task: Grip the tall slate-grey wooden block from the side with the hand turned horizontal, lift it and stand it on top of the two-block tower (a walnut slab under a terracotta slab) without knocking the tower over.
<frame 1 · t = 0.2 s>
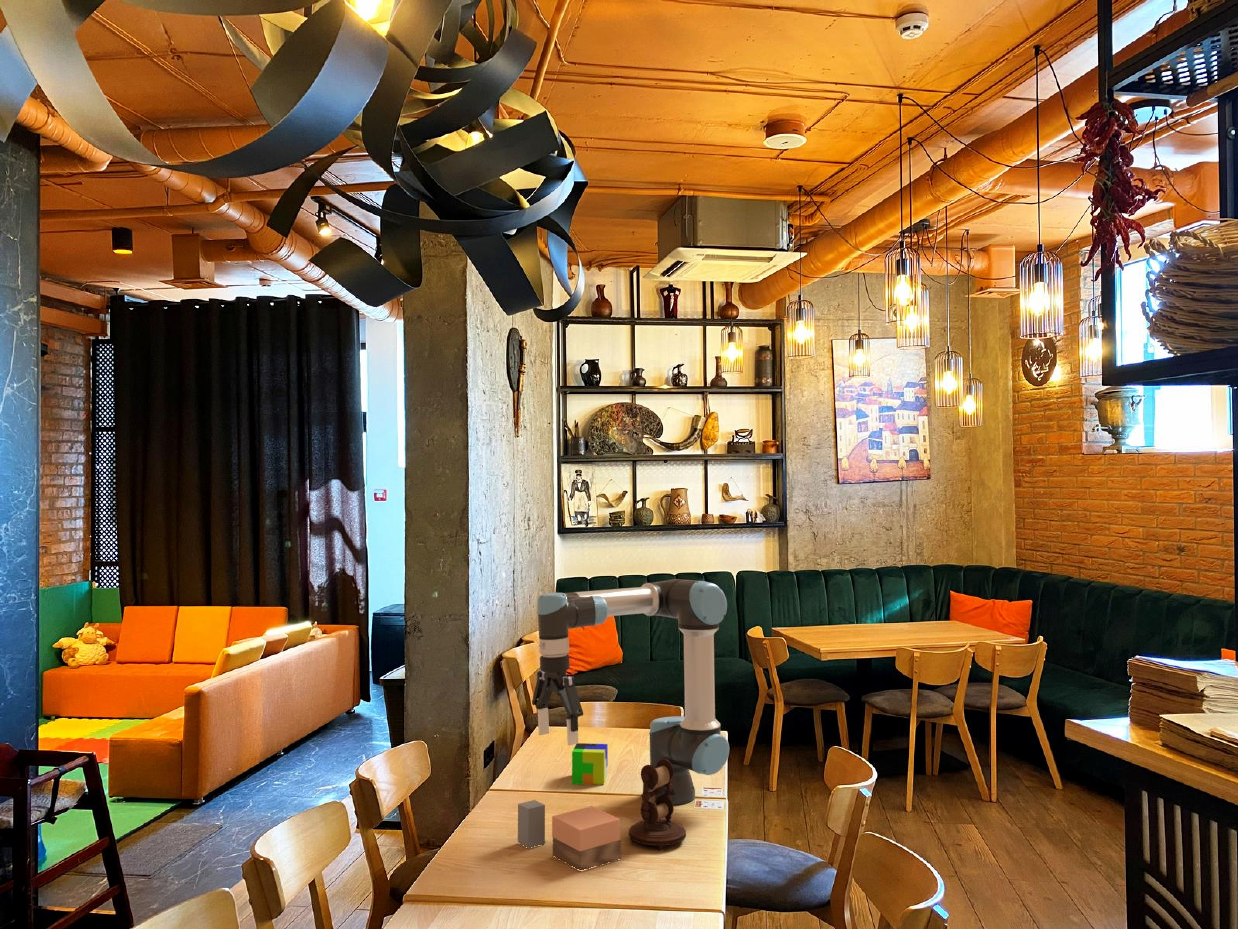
hand: (558, 739, 223), 27 cm above the table, tool pointing down, fingers open, 13 cm apart
grey block: (531, 844, 226), on the table
tower top: (586, 838, 217), point 5 cm above the table
puzzle toy: (590, 780, 279), on the table
tower bottom: (586, 859, 217), on the table
scroll: (657, 841, 228), on the table
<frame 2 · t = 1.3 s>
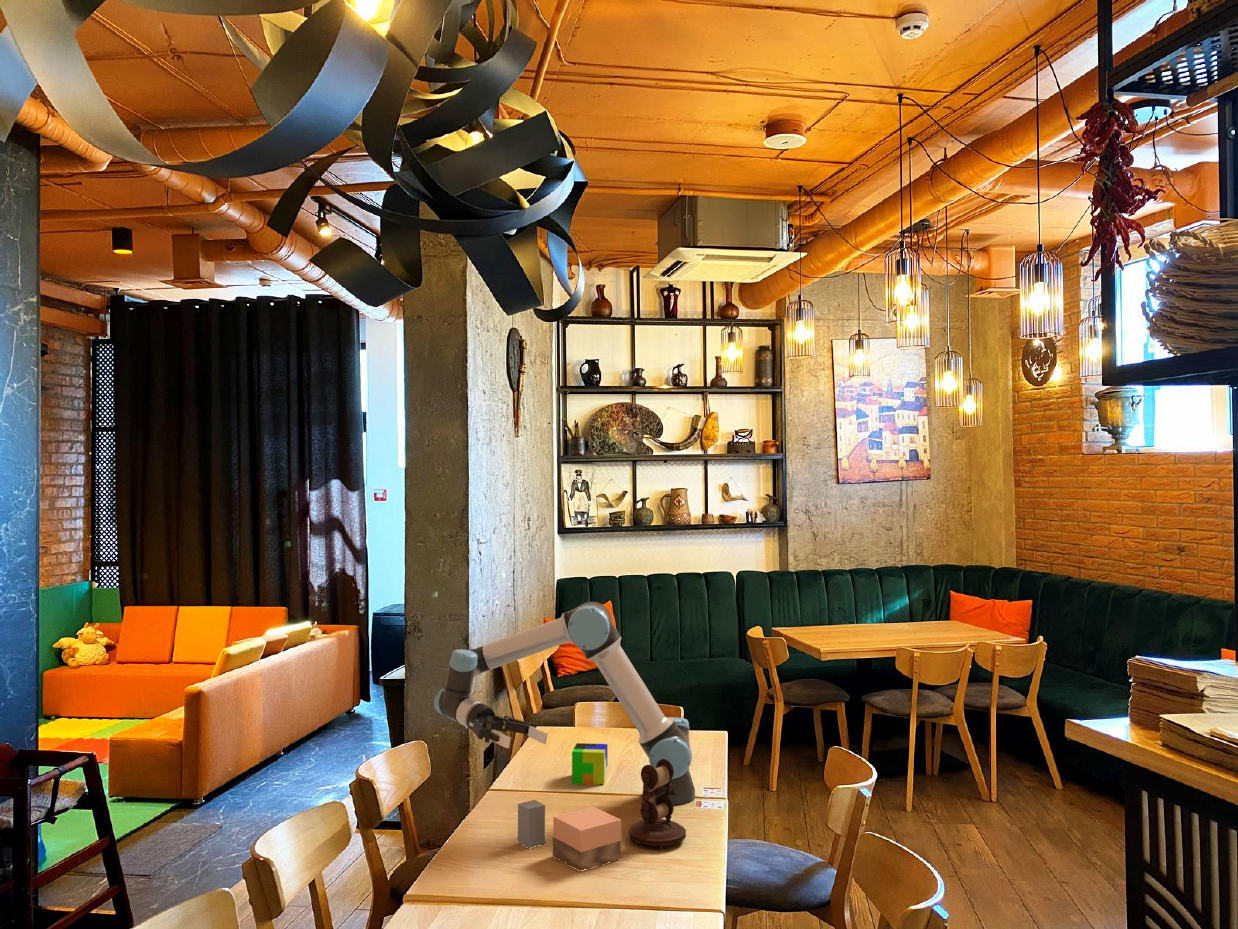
hand: (527, 741, 232), 25 cm above the table, tool horizontal, fingers open, 13 cm apart
nothing on the table moved.
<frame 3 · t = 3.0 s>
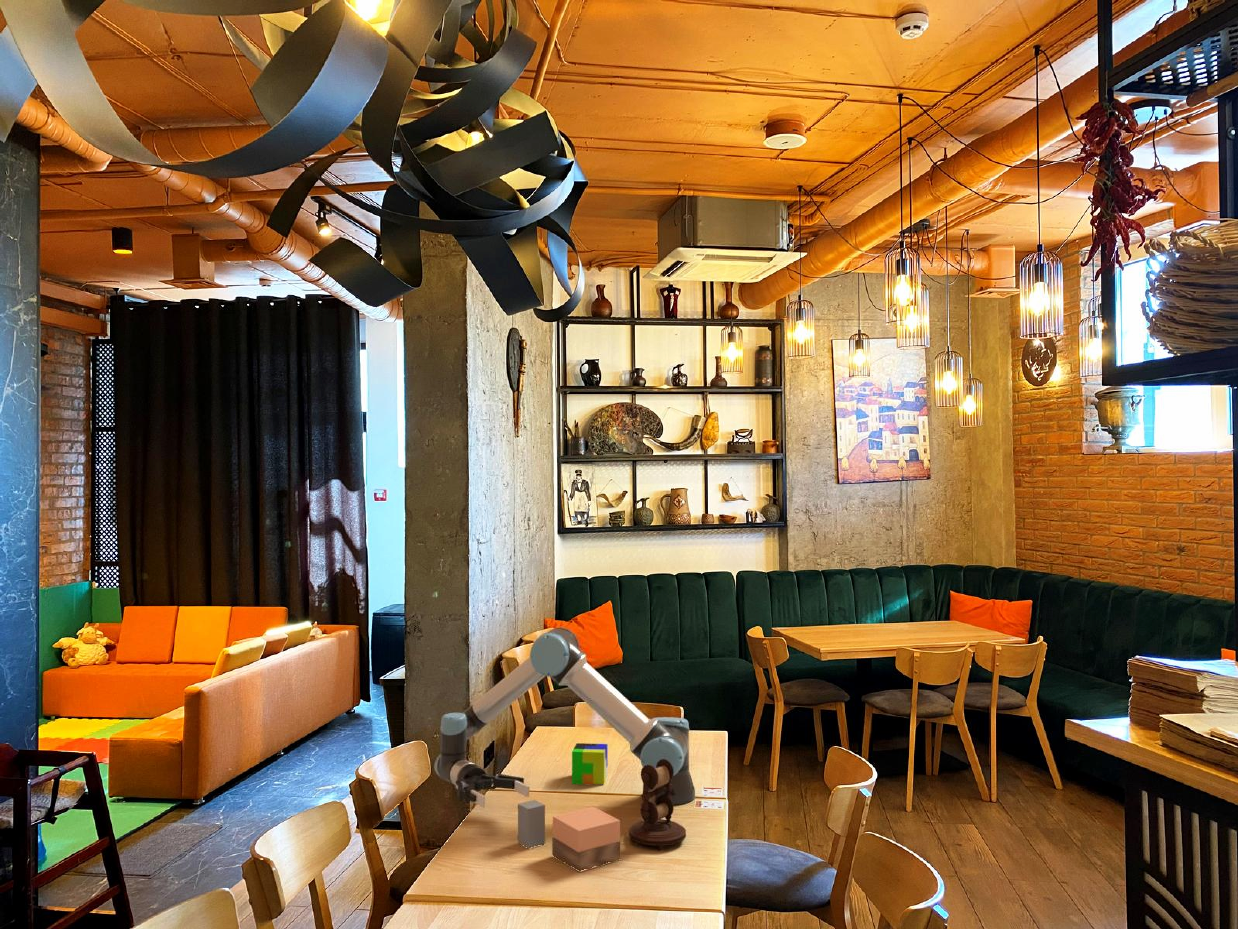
hand: (506, 796, 235), 9 cm above the table, tool horizontal, fingers open, 13 cm apart
tower top: (586, 839, 217), point 5 cm above the table, touching tower bottom
tower bottom: (586, 860, 216), on the table, touching tower top
everything else where it was.
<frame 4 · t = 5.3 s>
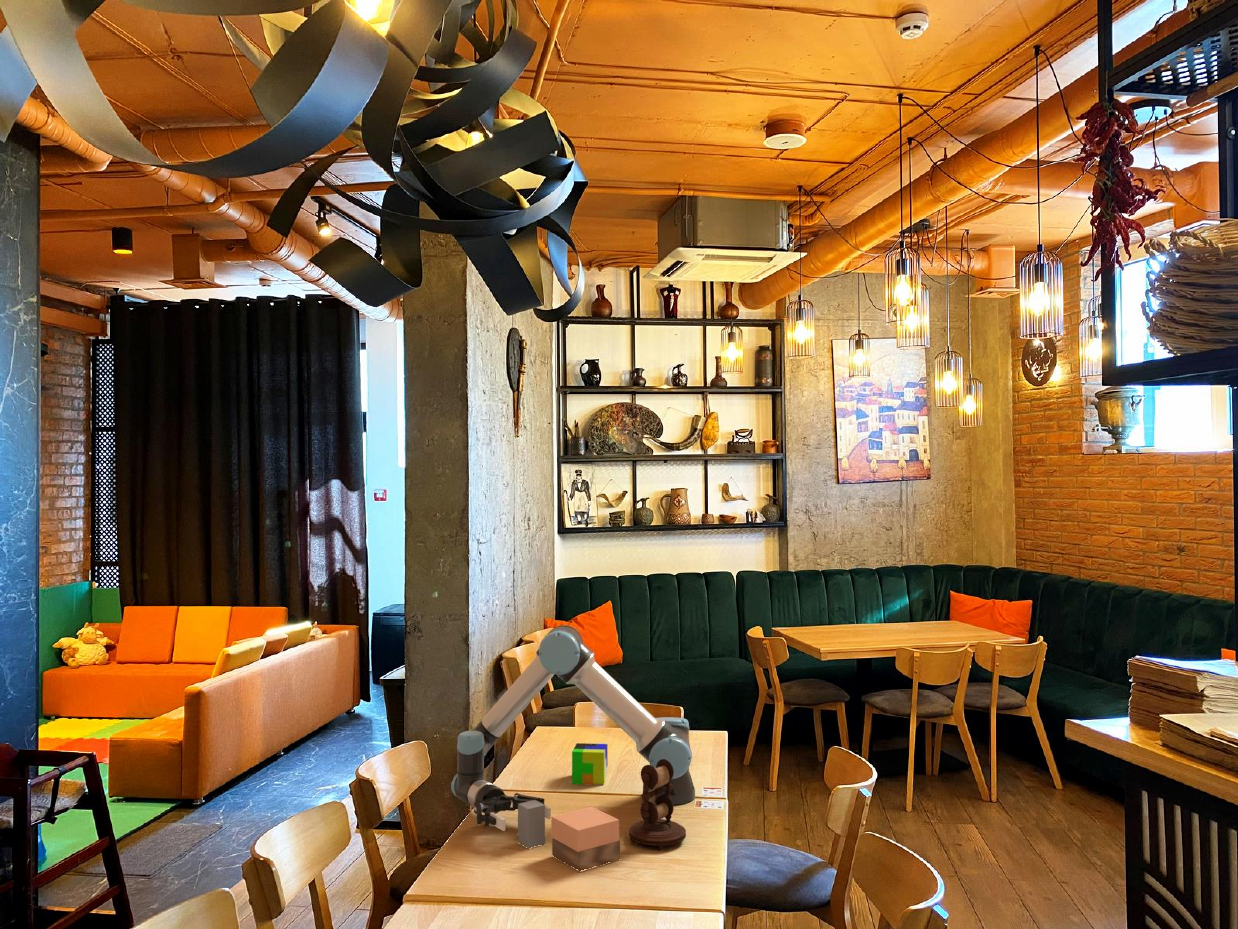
hand: (527, 819, 227), 6 cm above the table, tool horizontal, fingers open, 13 cm apart
nothing on the table moved.
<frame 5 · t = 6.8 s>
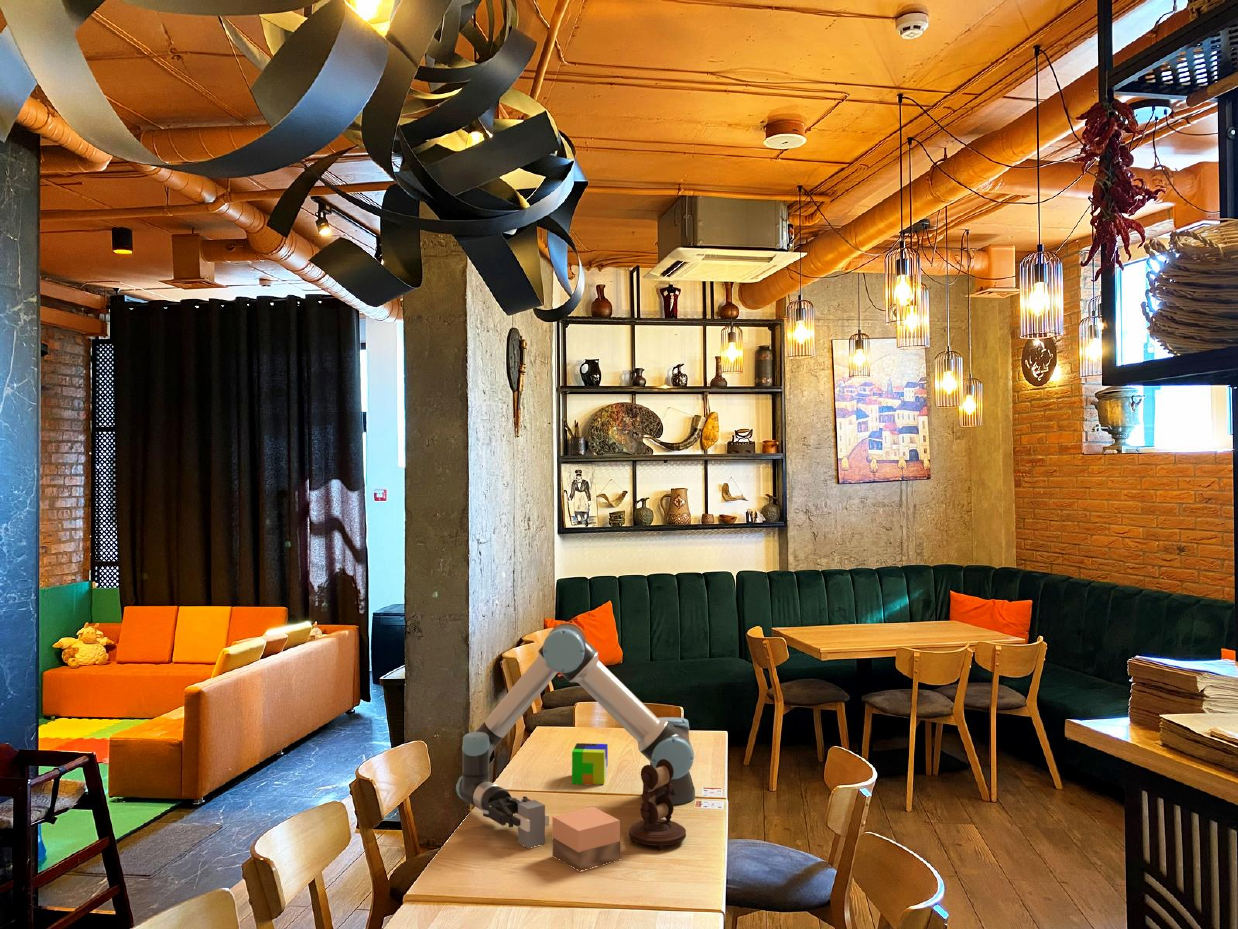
hand: (538, 823, 223), 6 cm above the table, tool horizontal, fingers closed on grey block, 5 cm apart
grey block: (531, 844, 226), on the table, touching gripper
everything else where it was.
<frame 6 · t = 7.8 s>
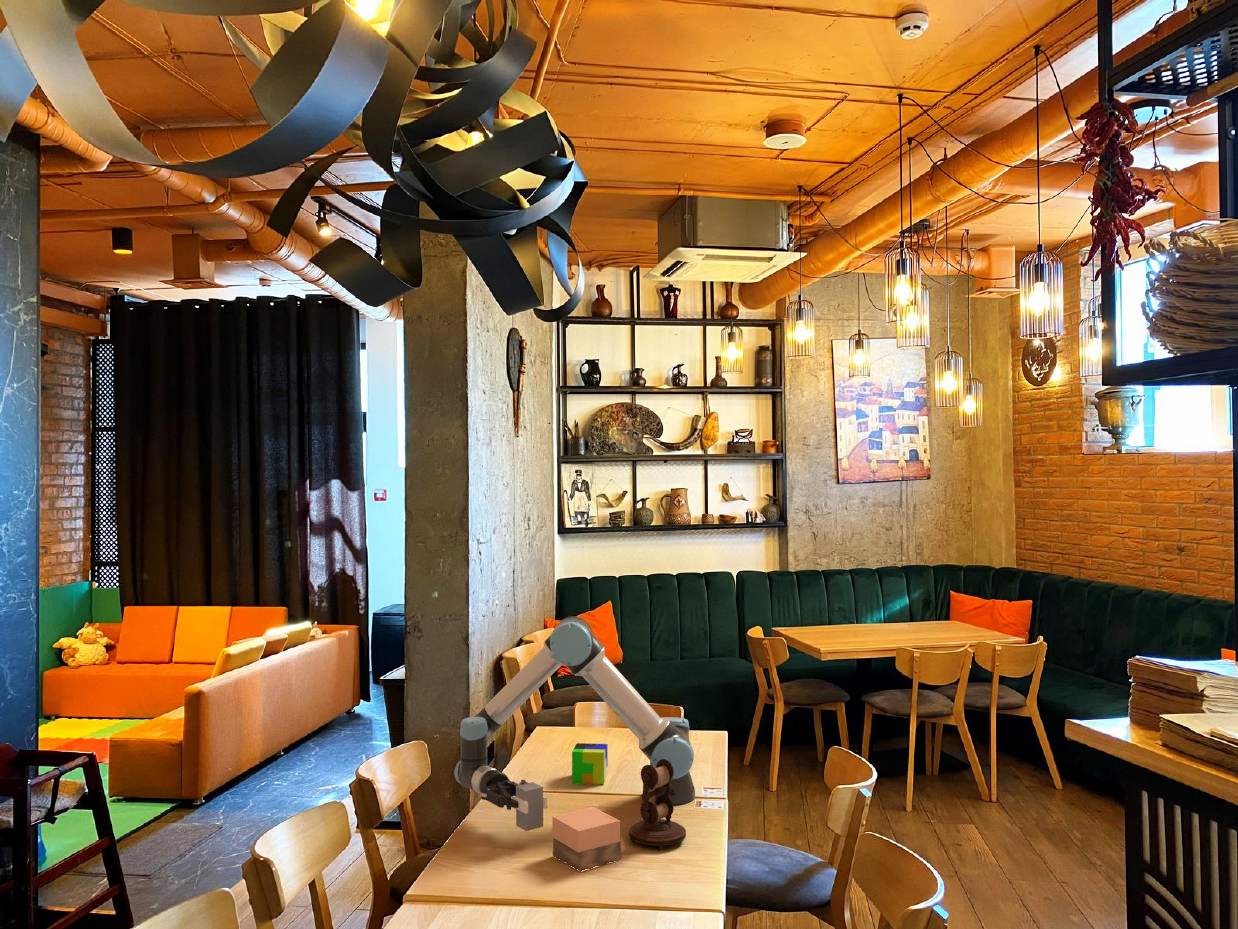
hand: (536, 805, 224), 11 cm above the table, tool horizontal, fingers closed on grey block, 5 cm apart
grey block: (529, 826, 226), point 4 cm above the table, touching gripper
everything else where it was.
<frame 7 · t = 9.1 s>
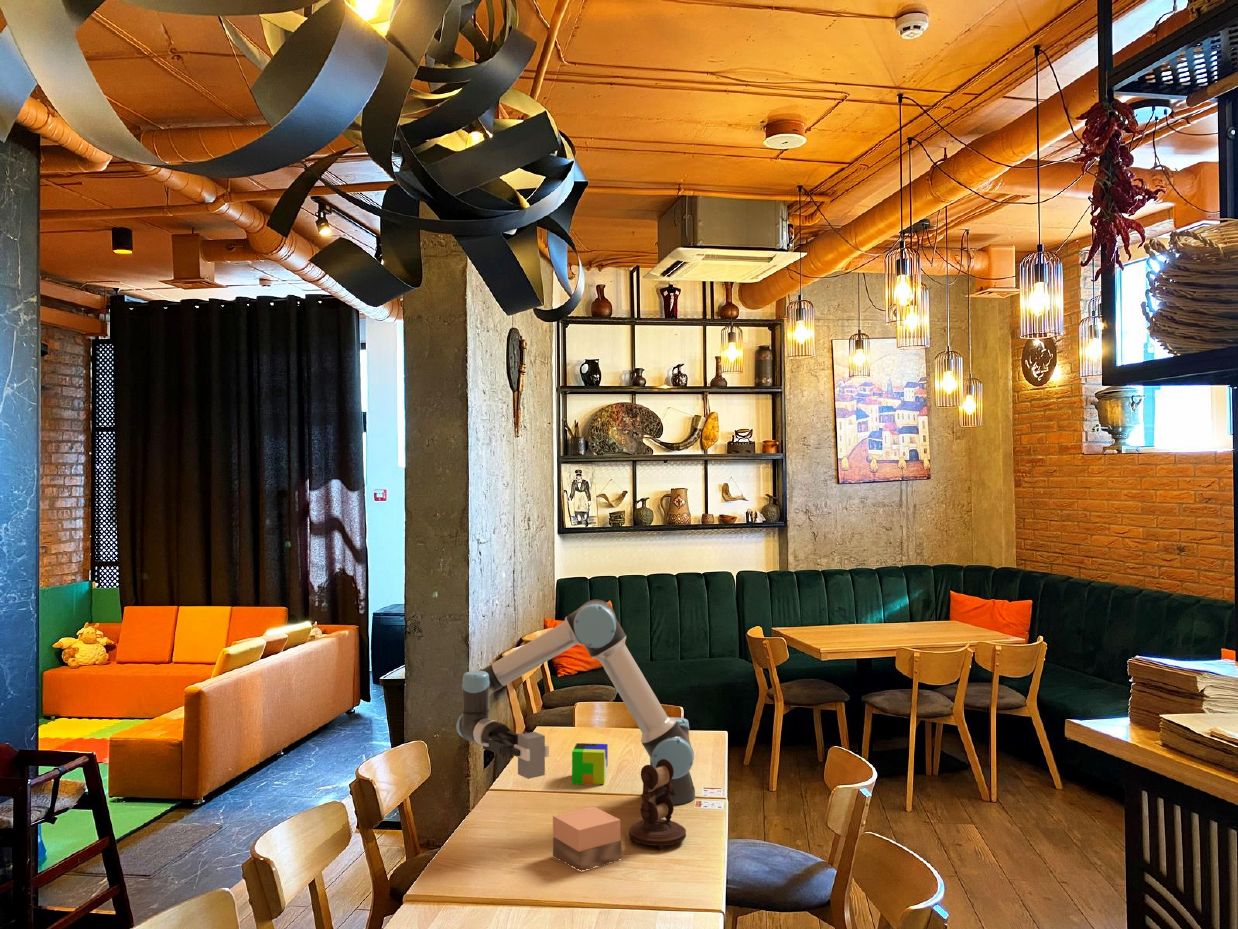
hand: (538, 753, 224), 24 cm above the table, tool horizontal, fingers closed on grey block, 5 cm apart
grey block: (531, 774, 226), point 17 cm above the table, touching gripper
tower top: (586, 838, 217), point 5 cm above the table
tower bottom: (586, 859, 216), on the table
everything else where it was.
when the fingers open (17 cm above the table, at t = 12.5 s): grey block drops 2 cm, point 10 cm above the table.
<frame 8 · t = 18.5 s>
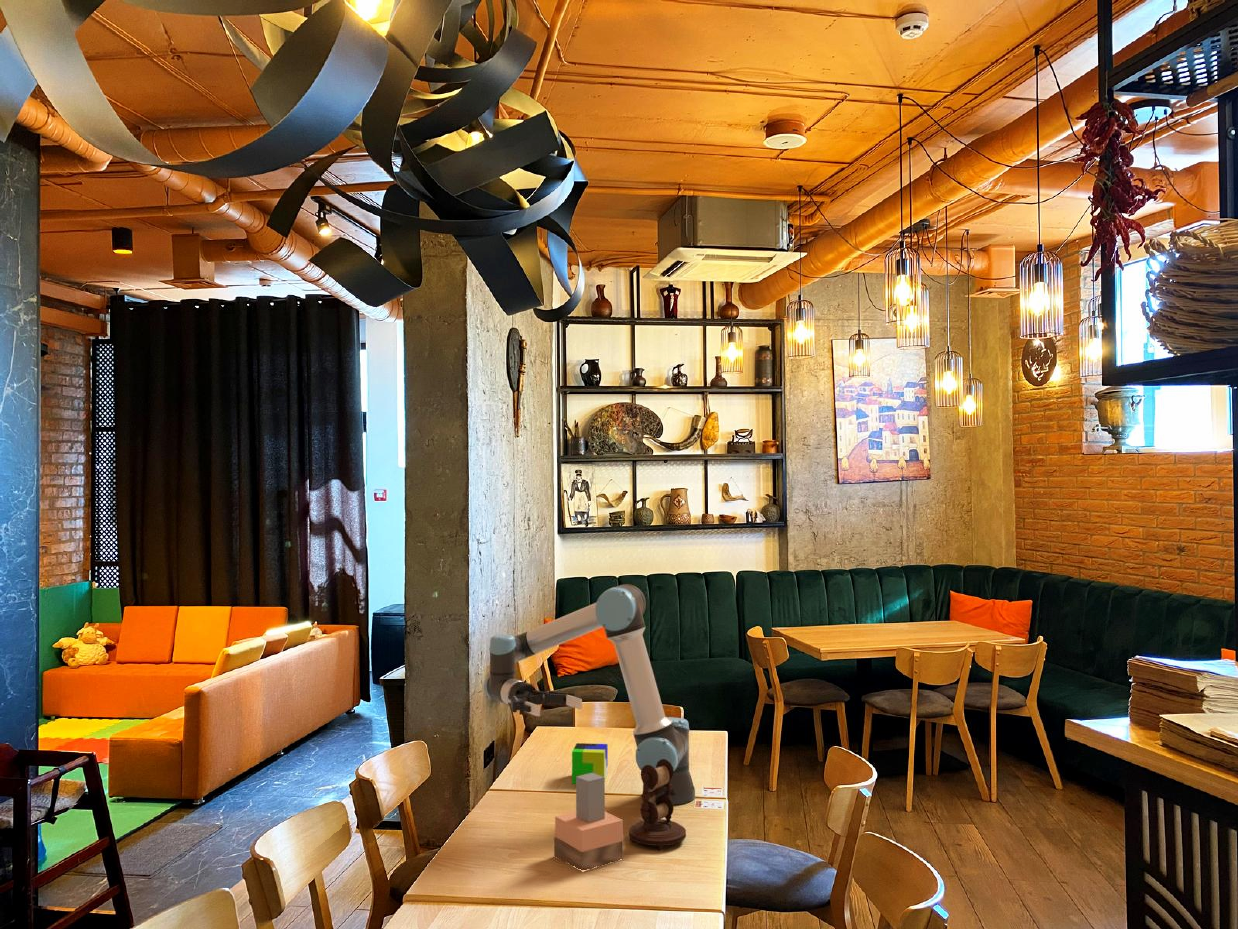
hand: (560, 707, 238), 32 cm above the table, tool horizontal, fingers open, 13 cm apart
grey block: (590, 818, 217), point 10 cm above the table
tower top: (588, 839, 217), point 5 cm above the table, touching tower bottom
tower bottom: (588, 859, 217), on the table, touching tower top
everything else where it was.
at the end: grey block inside the target area on the tower top (0.4 cm from its centre), point 5.0 cm above the tower top's base; tower top moved 0.7 cm from its start; grey block tilted 1° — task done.
